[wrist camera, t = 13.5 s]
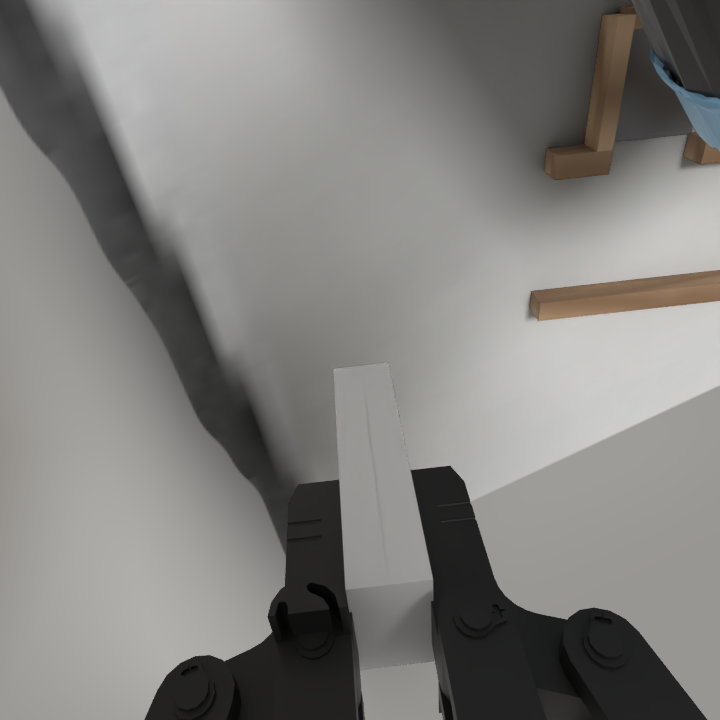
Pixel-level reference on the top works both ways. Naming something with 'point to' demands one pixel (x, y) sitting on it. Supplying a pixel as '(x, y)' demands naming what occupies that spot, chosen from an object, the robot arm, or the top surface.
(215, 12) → the top surface
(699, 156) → the brown green flat frame
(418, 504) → the robot arm
